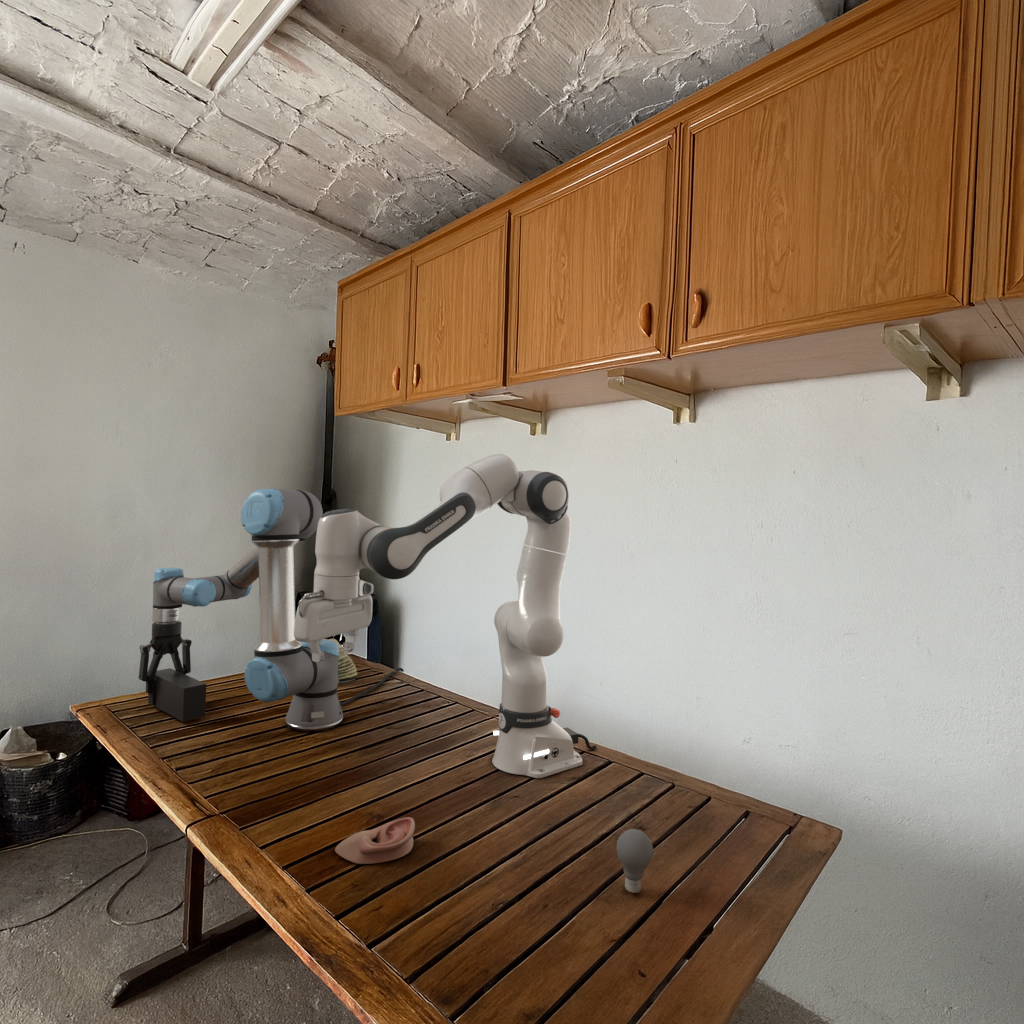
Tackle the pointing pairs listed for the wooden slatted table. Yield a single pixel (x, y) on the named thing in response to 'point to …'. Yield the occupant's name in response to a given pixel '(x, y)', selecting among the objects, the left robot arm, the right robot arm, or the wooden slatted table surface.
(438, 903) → the wooden slatted table surface
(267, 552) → the left robot arm
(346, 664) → the fossil
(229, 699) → the wooden slatted table surface
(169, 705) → the box
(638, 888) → the light bulb
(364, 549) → the right robot arm
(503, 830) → the wooden slatted table surface
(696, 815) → the wooden slatted table surface
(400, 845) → the anatomical model
